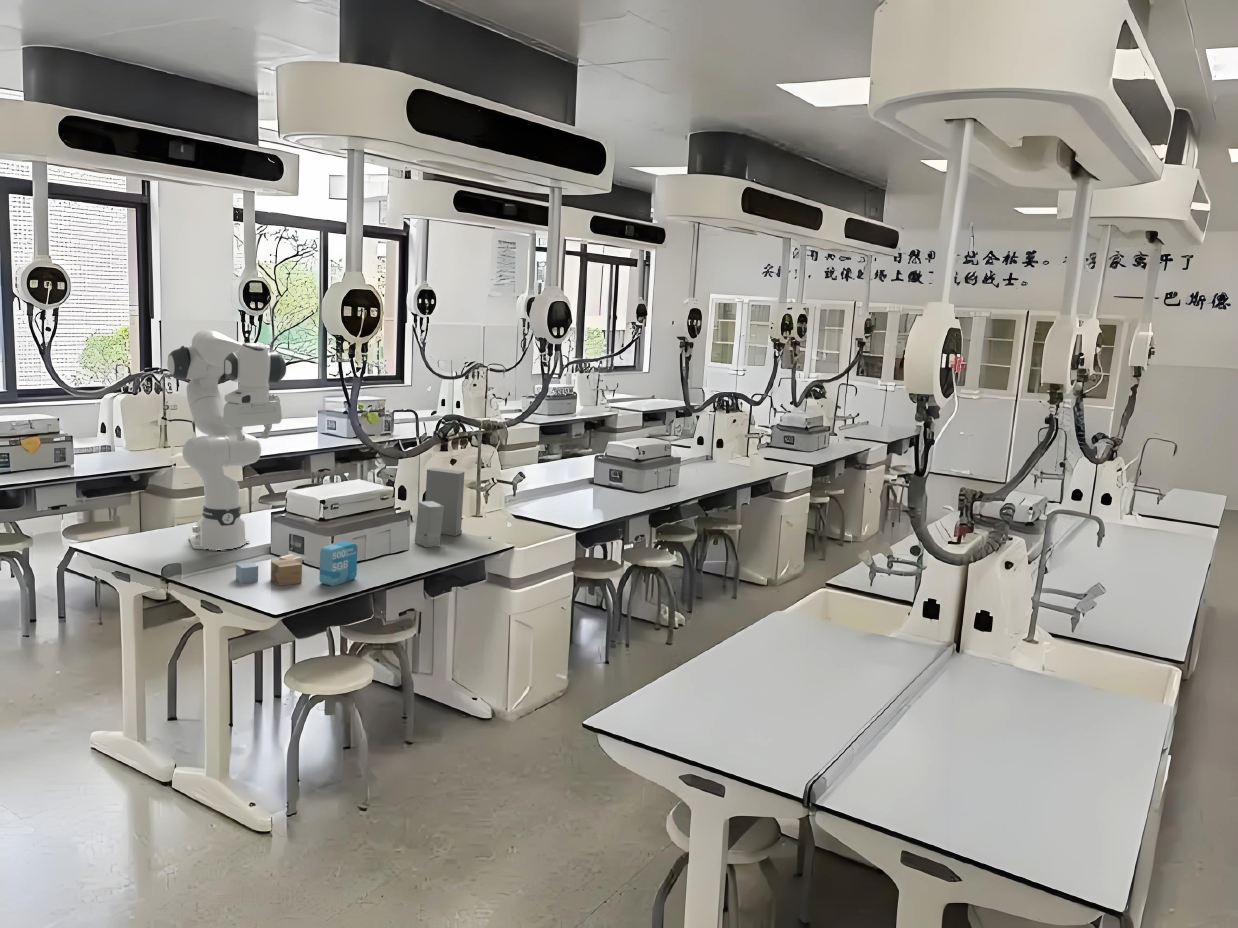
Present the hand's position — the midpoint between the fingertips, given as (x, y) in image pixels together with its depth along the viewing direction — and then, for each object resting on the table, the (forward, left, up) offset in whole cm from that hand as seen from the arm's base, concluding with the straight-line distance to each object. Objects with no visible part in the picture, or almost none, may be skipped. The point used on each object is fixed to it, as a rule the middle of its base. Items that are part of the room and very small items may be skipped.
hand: (253, 439), depth 288 cm
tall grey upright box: (-18, +82, -43) cm, 94 cm away
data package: (+22, +20, -43) cm, 52 cm away
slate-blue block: (+9, -4, -43) cm, 44 cm away
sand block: (+6, +11, -43) cm, 45 cm away
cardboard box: (+15, +6, -43) cm, 46 cm away
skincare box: (-5, +68, -43) cm, 80 cm away
